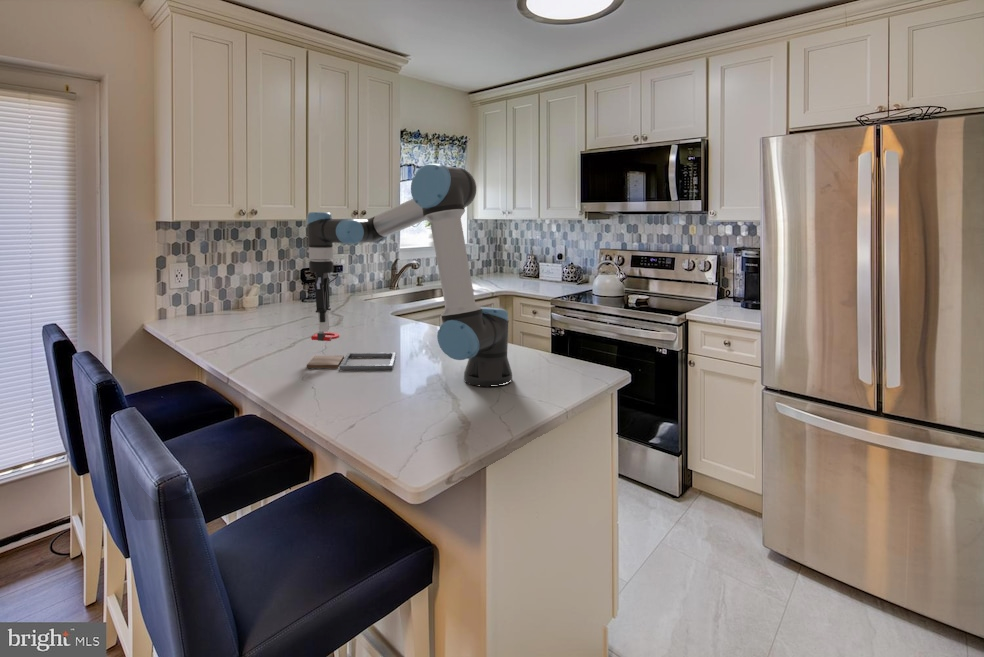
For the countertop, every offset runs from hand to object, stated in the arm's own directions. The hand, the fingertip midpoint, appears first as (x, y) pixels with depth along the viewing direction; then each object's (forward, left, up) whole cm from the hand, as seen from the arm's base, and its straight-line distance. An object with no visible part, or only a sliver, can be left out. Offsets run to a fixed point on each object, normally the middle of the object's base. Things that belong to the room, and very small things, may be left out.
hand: (324, 330), depth 175 cm
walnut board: (0, 0, -12) cm, 12 cm away
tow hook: (+4, 0, -4) cm, 5 cm away
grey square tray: (0, -15, -12) cm, 19 cm away
